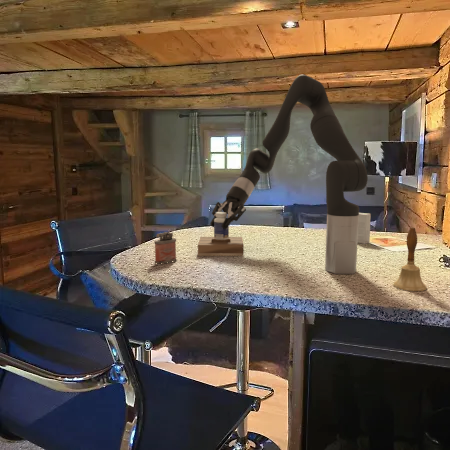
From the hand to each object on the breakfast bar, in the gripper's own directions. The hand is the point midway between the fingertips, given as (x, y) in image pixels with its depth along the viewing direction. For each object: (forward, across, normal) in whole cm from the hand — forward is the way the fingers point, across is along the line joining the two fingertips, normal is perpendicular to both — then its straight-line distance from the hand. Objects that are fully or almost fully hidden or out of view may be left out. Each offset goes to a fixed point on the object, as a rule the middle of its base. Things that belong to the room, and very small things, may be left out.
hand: (217, 226), depth 155 cm
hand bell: (+2, +67, +11) cm, 68 cm away
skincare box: (-32, +28, +46) cm, 62 cm away
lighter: (+23, -1, -10) cm, 25 cm away
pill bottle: (+2, 0, +5) cm, 5 cm away
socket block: (+6, 0, +8) cm, 10 cm away
